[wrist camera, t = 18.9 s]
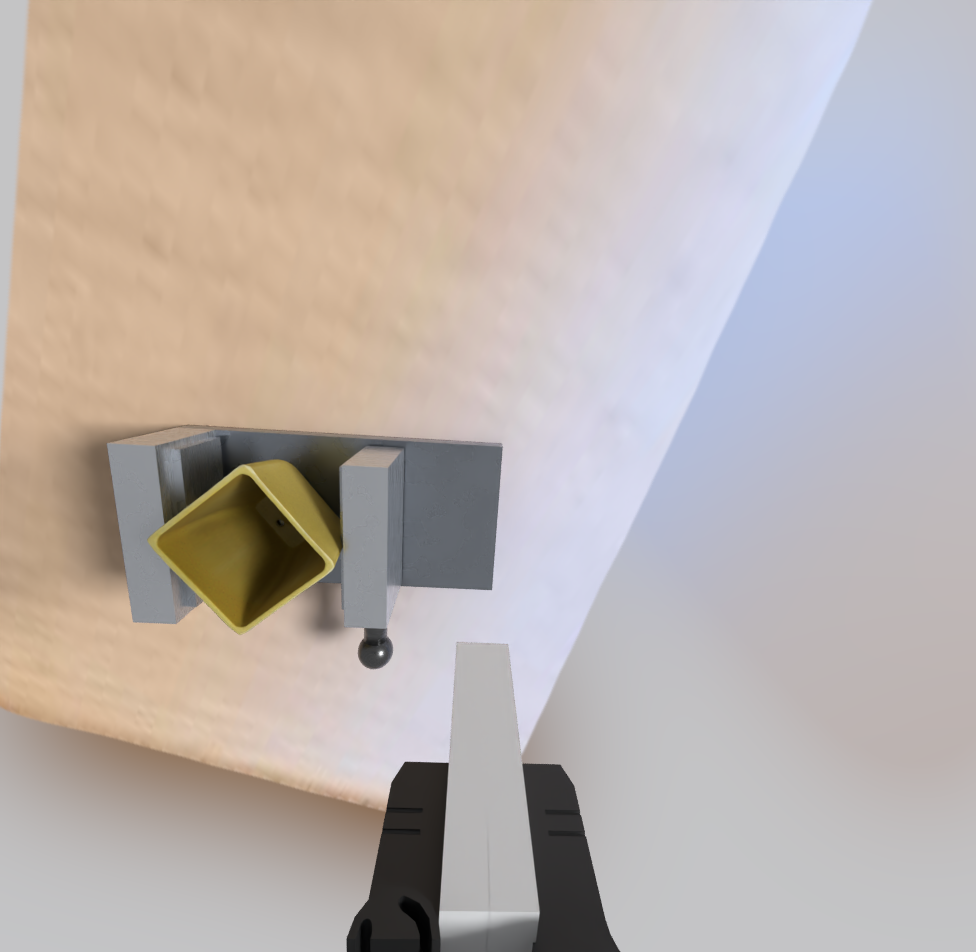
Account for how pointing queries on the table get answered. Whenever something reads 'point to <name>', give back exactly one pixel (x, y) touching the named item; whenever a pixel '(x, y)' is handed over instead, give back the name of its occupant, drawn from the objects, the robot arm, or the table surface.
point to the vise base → (317, 456)
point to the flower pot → (252, 542)
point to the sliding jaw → (371, 546)
